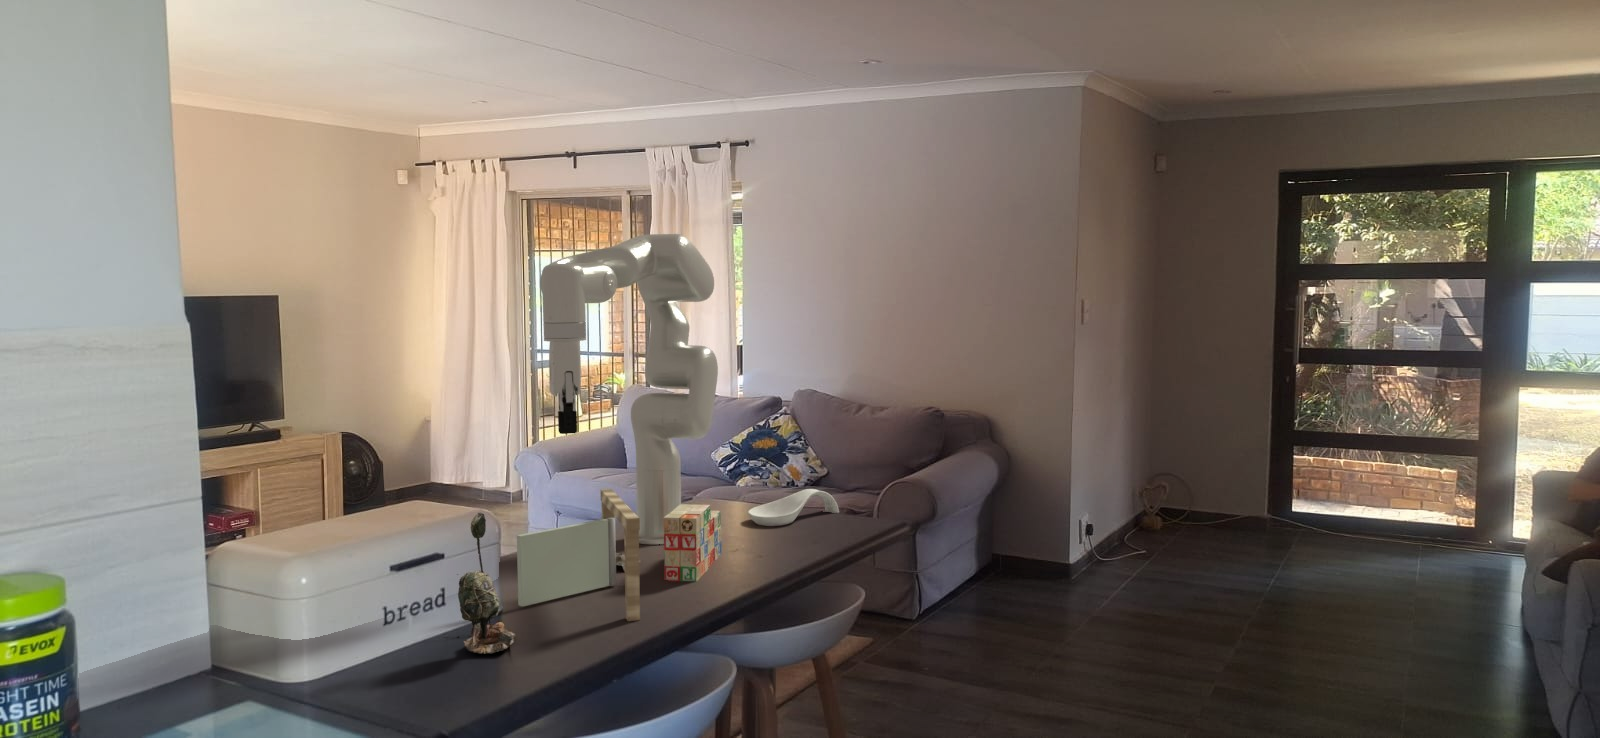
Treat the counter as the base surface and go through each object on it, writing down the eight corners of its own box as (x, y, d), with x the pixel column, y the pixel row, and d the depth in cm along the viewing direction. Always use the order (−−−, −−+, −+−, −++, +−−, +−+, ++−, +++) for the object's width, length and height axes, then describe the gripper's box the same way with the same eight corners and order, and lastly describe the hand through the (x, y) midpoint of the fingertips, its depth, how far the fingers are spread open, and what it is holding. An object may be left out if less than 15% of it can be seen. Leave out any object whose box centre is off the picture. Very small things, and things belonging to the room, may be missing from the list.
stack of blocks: (692, 554, 222) (691, 495, 221) (722, 555, 221) (721, 495, 220) (663, 582, 201) (663, 516, 200) (697, 583, 200) (696, 517, 199)
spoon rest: (768, 534, 241) (768, 502, 241) (737, 525, 250) (737, 494, 250) (849, 520, 256) (849, 490, 255) (817, 512, 265) (817, 483, 265)
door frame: (602, 580, 202) (600, 489, 201) (612, 579, 202) (611, 488, 201) (628, 623, 175) (627, 518, 174) (641, 621, 176) (639, 518, 175)
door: (612, 582, 198) (611, 517, 198) (618, 583, 197) (616, 518, 196) (517, 605, 184) (516, 535, 183) (522, 606, 183) (521, 536, 182)
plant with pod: (440, 656, 160) (437, 521, 158) (484, 633, 170) (481, 507, 169) (489, 661, 157) (485, 525, 156) (530, 637, 168) (527, 509, 167)
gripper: (540, 331, 203) (543, 428, 204) (547, 335, 189) (550, 440, 190) (581, 329, 205) (584, 426, 207) (590, 334, 191) (593, 437, 192)
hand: (567, 432), depth 198 cm, fingers closed
